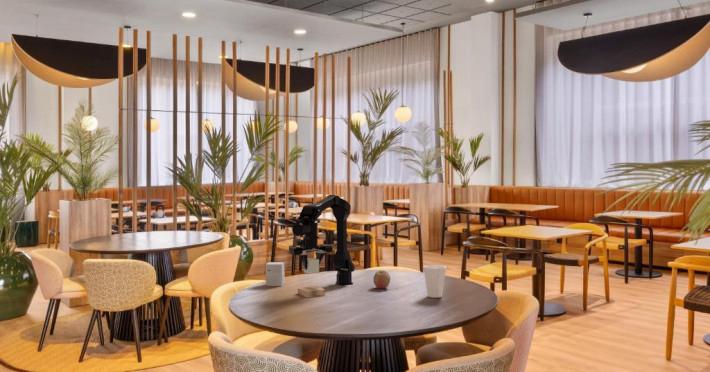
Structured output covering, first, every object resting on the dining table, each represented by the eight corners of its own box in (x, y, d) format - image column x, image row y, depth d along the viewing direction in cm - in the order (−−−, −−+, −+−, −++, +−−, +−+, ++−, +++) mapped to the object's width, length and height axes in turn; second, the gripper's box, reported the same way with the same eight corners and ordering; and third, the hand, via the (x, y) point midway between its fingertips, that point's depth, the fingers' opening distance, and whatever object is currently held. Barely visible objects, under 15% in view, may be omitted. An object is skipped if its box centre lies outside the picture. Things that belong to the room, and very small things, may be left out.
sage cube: (314, 271, 262) (314, 257, 261) (319, 273, 257) (318, 259, 257) (303, 272, 259) (303, 258, 259) (308, 274, 255) (308, 260, 255)
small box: (284, 284, 282) (284, 262, 282) (282, 286, 277) (282, 264, 277) (268, 283, 283) (268, 262, 283) (265, 286, 278) (265, 263, 277)
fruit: (370, 289, 269) (370, 271, 269) (376, 285, 277) (376, 269, 276) (387, 290, 266) (387, 273, 266) (392, 287, 274) (392, 270, 274)
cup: (449, 295, 255) (449, 265, 255) (442, 300, 246) (442, 269, 246) (427, 293, 259) (427, 264, 259) (419, 298, 250) (419, 267, 250)
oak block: (316, 292, 265) (316, 285, 265) (325, 296, 257) (325, 289, 257) (297, 294, 260) (297, 287, 260) (306, 298, 252) (306, 291, 252)
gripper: (322, 230, 269) (322, 264, 270) (284, 233, 260) (284, 268, 261) (333, 233, 260) (333, 268, 260) (294, 235, 250) (294, 272, 251)
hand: (311, 269), depth 258 cm, fingers closed on sage cube, 5 cm apart
